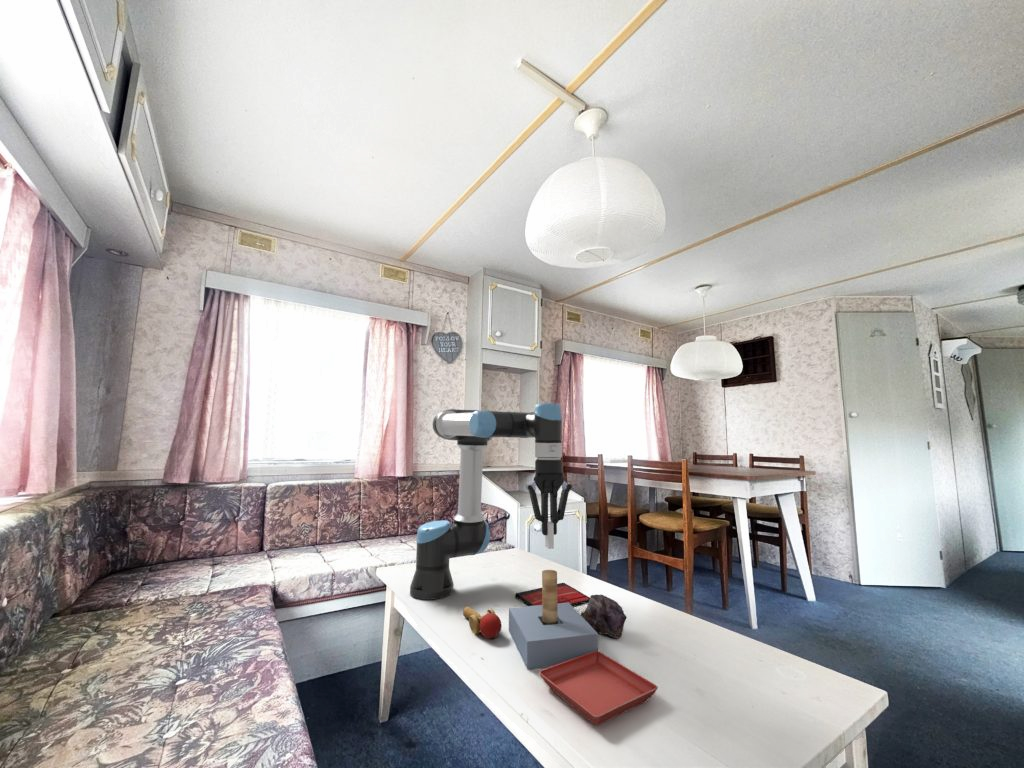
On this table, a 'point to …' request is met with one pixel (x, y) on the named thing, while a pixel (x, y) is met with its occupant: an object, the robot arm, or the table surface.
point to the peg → (549, 597)
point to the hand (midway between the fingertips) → (549, 547)
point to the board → (550, 635)
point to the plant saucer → (598, 686)
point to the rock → (605, 615)
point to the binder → (563, 596)
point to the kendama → (483, 622)
